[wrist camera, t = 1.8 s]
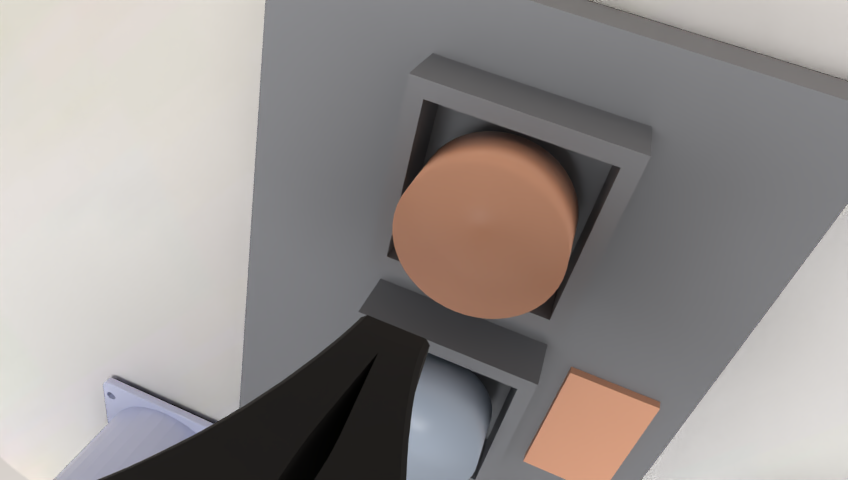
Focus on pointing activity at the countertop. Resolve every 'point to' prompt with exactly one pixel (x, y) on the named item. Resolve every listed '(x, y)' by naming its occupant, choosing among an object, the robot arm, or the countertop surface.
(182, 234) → the countertop surface
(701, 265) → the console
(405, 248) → the button terracotta
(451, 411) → the button slate
